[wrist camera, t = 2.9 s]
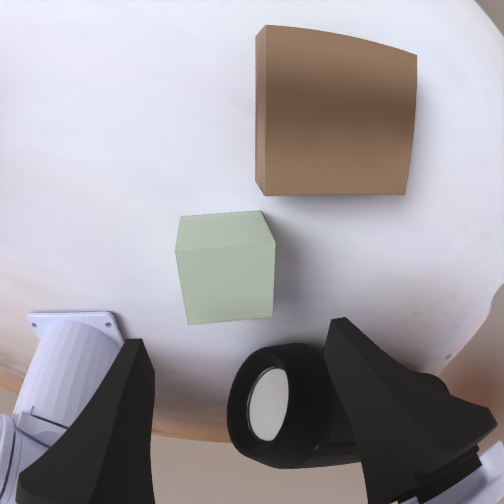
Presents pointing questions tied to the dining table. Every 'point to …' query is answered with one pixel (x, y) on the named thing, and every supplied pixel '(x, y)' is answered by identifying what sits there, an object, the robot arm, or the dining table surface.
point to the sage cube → (226, 266)
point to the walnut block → (332, 113)
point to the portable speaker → (292, 410)
